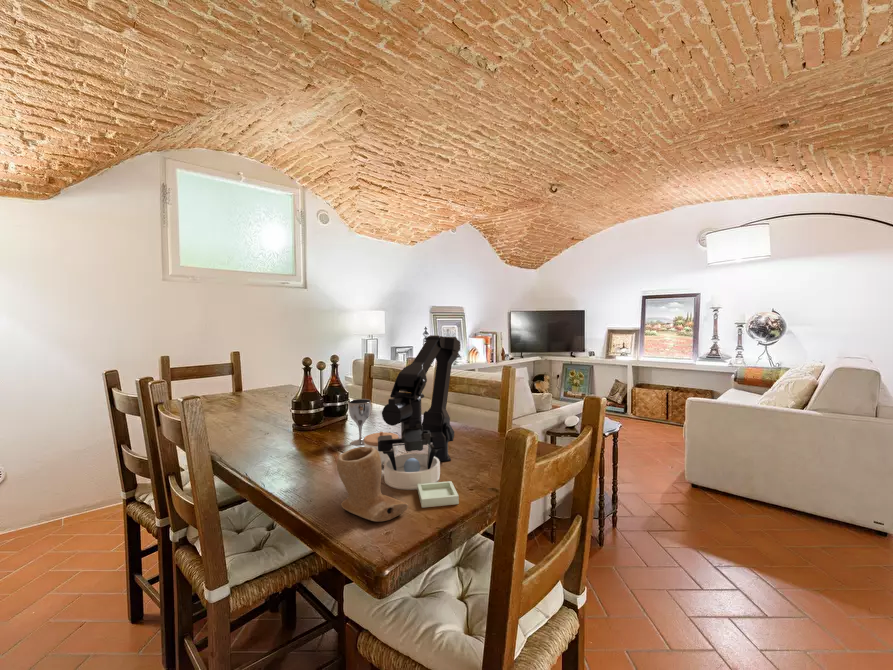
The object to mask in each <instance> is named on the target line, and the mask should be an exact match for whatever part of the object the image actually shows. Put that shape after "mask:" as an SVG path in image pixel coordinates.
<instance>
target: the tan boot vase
mask: <svg viewBox="0 0 893 670" xmlns="http://www.w3.org/2000/svg"><path fill="white" fill-rule="evenodd" d="M382 466H383V465H381V458H380V455H379V452H378V451H377V450H376V449H375V448H374V447H370V448H367V447H365V446H359V447H355V448H352V449H349V450H346V451H344V452H342V453H340V455H338V457H337V459H336V469H337V473H338V476H339V478H340V480H341V482H342V485H343V486H344V488H345V490H346V492H347V498H345V499H344V500H343V501H342V502H341V508H343V509H344V510H345V511H346V512H348V513H351V514H353V515H356V516H358V517H360V518H363V519H365V520H367V521H371V522H387V521H390V520H392V519H395V518H396V517H398V516H399V515H401V514H403V513H404V512H405V511H406V510H407V509H408V508H409V504H408V503H407V502H404V501H402V500H399V499H397V498H394V497H392V496H389V495H386V494H383V493H382V491H381V483H382V482H381V481H382V475H383V474H382V473H383V471H382V469H383V468H382Z"/></svg>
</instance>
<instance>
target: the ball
mask: <svg viewBox="0 0 893 670" xmlns="http://www.w3.org/2000/svg"><path fill="white" fill-rule="evenodd" d="M404 470H405V472H419V470H420V463H419V461H418V460H417V459H415V458H410V459H408V460H406V462H405V463H404Z"/></svg>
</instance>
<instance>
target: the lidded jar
mask: <svg viewBox="0 0 893 670" xmlns="http://www.w3.org/2000/svg"><path fill="white" fill-rule="evenodd" d="M385 435H392V439H398V438H400V437H399V435H398V434H396V433H393V432H385V431H379V432H375V433H370V434H367V435H366V436H365V437H364V438H363V439H364V445H363V447H367V448H370V447H374V448H375V449H376V450H377V451H378V437H379V436H385ZM393 450H394V456H396V455H398V451H399V446H393ZM378 452H379V455H380V458H381V466H384V462H385V461H386V460H387V459H388V458H389V456H388V455H387V454H383V451H381V452H380V451H378Z"/></svg>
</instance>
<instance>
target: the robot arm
mask: <svg viewBox="0 0 893 670" xmlns="http://www.w3.org/2000/svg"><path fill="white" fill-rule="evenodd" d="M460 349H461V342H460V340H459V339H458V338H457V337H456V336H443V335H428V336H427V337H426V338H425V342H424V344H423V346H422V347H421V349H420V351H419V352H418V353H417V355H416V357H415V358H414V360H413V361H412V362H411V363H409V365H406V366H405V367H403V369H401V371H400V372H399V373H398V374H397V375H396V376H397V377H396V378H395V380H394V381H395V382H394V384H393V387H392V390H391V392H390V398H389V399H388V400H387V401H388V403H387V404H385V405H384V407H383V408H382V410H381V417H382V420H383V421H384V422H385V424H387V425H388V426H396V425H398V424H400V429H401V431H400V433H401V437H399V438H398V439H392V435H385V436H379V437H378V451H380V452H381V451H383V454H387V455H388V456H389V458H390V460H391V463H392V466H393V469H394V470H395V471H397V469H396V462H395V456H394V450H393V446H398V447H399V446H404V450H405V451H406V452H408V453H410V452H412V451H419V452H420V451H423V450H424V446H427V454H428V459H427V469H430V467H431V464H432V461H433V458H434V456H435V457H436V458H438V459H439V461H440V462H449V461H452V458H451V456H450V455H449V442H453V441H454V438H455V429H454V428H453V427H452V425H451V424H450V422H451V417H450V415H449V413H448V410H447V403H448V395H449V390H450V389H449V388H450V382H451V380H450V379H451V374H452V365H453V364H454V363H455V362H456V360H457V359H458V357H459V352H460ZM435 360H436V366H435V374H434V382H433V388H432V389H433V390H432V397H431V404H430V408H428V410H425V411H424V412H423V416H422V399H423V398H425V395H424V394H423V391H424V389H425V387H426V384H427V382H428V379H427V373H428V371H429V369H430V367H431V366H432V364H433V363H434V361H435ZM422 417H423V418H422Z"/></svg>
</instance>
